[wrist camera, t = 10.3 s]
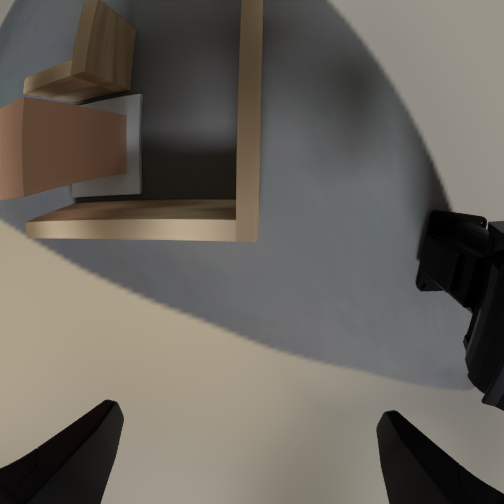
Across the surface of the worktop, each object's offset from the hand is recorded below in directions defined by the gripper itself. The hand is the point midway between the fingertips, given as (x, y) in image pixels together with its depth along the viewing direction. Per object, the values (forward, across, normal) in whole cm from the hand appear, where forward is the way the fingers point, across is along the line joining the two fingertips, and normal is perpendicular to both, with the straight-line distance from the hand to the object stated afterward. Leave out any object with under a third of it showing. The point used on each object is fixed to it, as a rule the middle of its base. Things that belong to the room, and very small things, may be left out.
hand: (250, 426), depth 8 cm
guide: (+13, +7, -11) cm, 18 cm away
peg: (+12, +11, -9) cm, 19 cm away
